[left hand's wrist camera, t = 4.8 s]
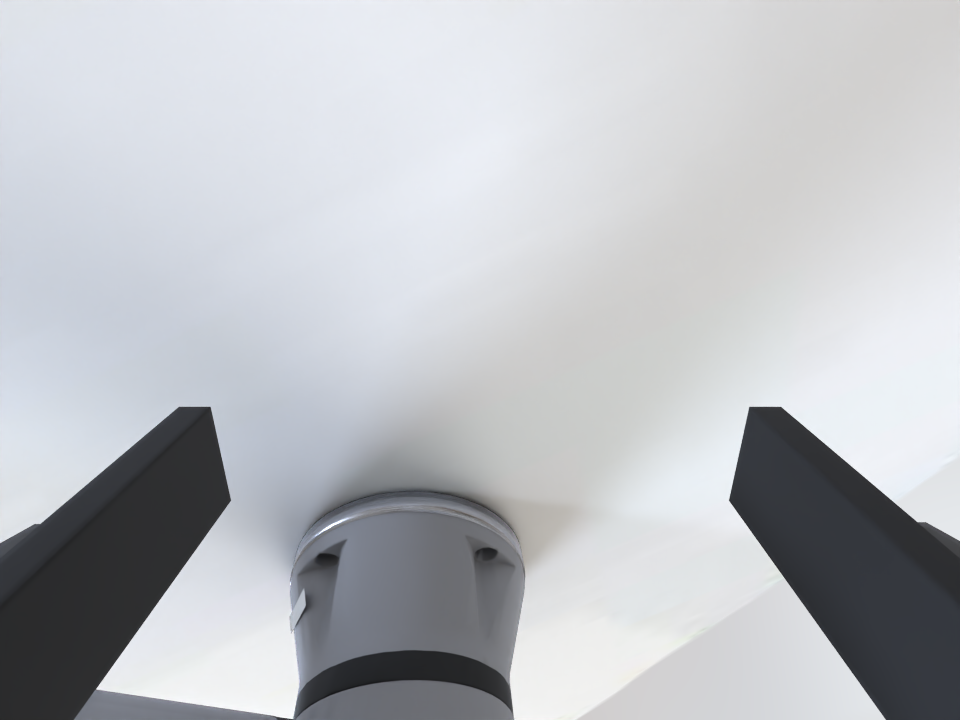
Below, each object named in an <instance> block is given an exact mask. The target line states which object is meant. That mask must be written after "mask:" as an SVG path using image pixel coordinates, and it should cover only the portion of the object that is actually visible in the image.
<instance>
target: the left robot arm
mask: <svg viewBox="0 0 960 720" xmlns="http://www.w3.org/2000/svg"><path fill="white" fill-rule="evenodd" d="M230 501H231V499H230V494H229V490H228V485H227V480H226V476H225V471H224V467H223V462H222V457H221V453H220V448H219V444H218V439H217V434H216V430H215V425H214V421H213V416H212V412H211V407H178V408H177V409H176V410H175V411H174V412H173V413H171V414H170V415H169V416H168V417H167V418H165V419H164V420H163V421H162V422H161V423H160V424H158V425H157V426H156V427H155V428H154V429H152V430H151V431H150V432H149V433H148V434H146V435H145V436H144V437H143V438H142V439H141V440H139V441H138V442H137V443H136V444H135V445H133V446H132V447H131V448H130V449H129V450H128V451H126V452H125V453H124V454H123V455H122V456H120V457H119V458H118V459H117V460H116V461H115V462H113V463H112V464H111V465H110V466H109V467H107V468H106V469H105V470H104V471H103V472H102V473H100V474H99V475H98V476H97V477H96V478H94V479H93V480H92V481H91V482H90V483H89V484H87V485H86V486H85V487H84V488H83V489H81V490H80V491H79V492H78V493H77V494H76V495H74V496H73V497H72V498H71V499H70V500H68V501H67V502H66V503H65V504H64V505H63V506H61V507H60V508H59V509H58V510H57V511H55V512H54V513H53V514H52V515H51V516H50V517H48V518H47V519H46V520H45V521H44V522H42V523H41V524H34V525H32V526H31V527H29V528H27V529H25V530H23V531H22V532H20V533H18V534H16V535H14V536H13V537H11V538H9V539H7V540H5V541H4V542H2V543H0V720H514V717H513V708H512V699H511V690H510V669H511V664H512V658H513V652H514V647H515V641H516V635H517V629H518V624H519V618H520V612H521V607H522V601H523V595H524V586H525V570H524V564H523V558H522V552H521V547H520V544H519V541H518V539H517V537H516V535H515V533H514V532H513V530H512V529H511V528H510V527H509V525H508V524H507V523H506V522H505V521H504V520H502V519H501V518H500V517H499V516H497V515H496V514H495V513H493V512H492V511H490V510H488V509H487V508H485V507H483V506H481V505H479V504H476V503H474V502H471V501H469V500H466V499H463V498H459V497H456V496H451V495H447V494H441V493H434V492H422V491H404V492H392V493H384V494H379V495H374V496H369V497H366V498H362V499H358V500H356V501H353V502H350V503H348V504H345V505H343V506H341V507H339V508H337V509H335V510H333V511H331V512H330V513H328V514H327V515H325V516H324V517H322V518H321V519H320V520H318V521H317V522H316V523H315V524H314V525H313V526H312V527H311V528H310V529H309V530H308V531H307V533H306V534H305V535H304V537H303V538H302V540H301V542H300V544H299V547H298V550H297V553H296V557H295V561H294V565H293V569H292V573H291V579H290V587H291V588H290V597H291V607H292V613H291V615H290V626H291V633H292V631H293V629H294V635H295V644H296V653H297V662H298V672H299V691H298V697H297V702H296V707H295V712H294V718H293V719H287V718H280V717H275V716H271V715H264V714H257V713H250V712H244V711H237V710H230V709H223V708H217V707H210V706H203V705H196V704H189V703H183V702H176V701H169V700H162V699H156V698H149V697H142V696H135V695H128V694H122V693H115V692H108V691H101V690H96V688H97V687H98V685H99V684H100V683H101V681H102V680H103V678H104V677H105V676H106V674H107V673H108V671H109V670H110V669H111V667H112V666H113V664H114V663H115V662H116V660H117V659H118V658H119V656H120V655H121V653H122V652H123V651H124V649H125V648H126V646H127V645H128V644H129V642H130V641H131V639H132V638H133V637H134V635H135V634H136V632H137V631H138V630H139V628H140V627H141V625H142V624H143V623H144V621H145V620H146V618H147V617H148V616H149V614H150V613H151V611H152V610H153V609H154V607H155V606H156V604H157V603H158V602H159V600H160V599H161V597H162V596H163V595H164V593H165V592H166V590H167V589H168V588H169V586H170V585H171V583H172V582H173V581H174V579H175V578H176V576H177V575H178V574H179V572H180V571H181V570H182V568H183V567H184V565H185V564H186V563H187V561H188V560H189V558H190V557H191V556H192V554H193V553H194V551H195V550H196V549H197V547H198V546H199V544H200V543H201V542H202V540H203V539H204V537H205V536H206V535H207V533H208V532H209V530H210V529H211V528H212V526H213V525H214V523H215V522H216V521H217V519H218V518H219V516H220V515H221V514H222V512H223V511H224V509H225V508H226V507H227V505H228V504H229V502H230ZM729 501H730V502H731V504H732V505H733V507H734V508H735V509H736V511H737V512H738V514H739V515H740V516H741V518H742V519H743V521H744V522H745V523H746V525H747V526H748V528H749V529H750V530H751V532H752V533H753V535H754V536H755V537H756V539H757V540H758V542H759V543H760V544H761V546H762V547H763V549H764V550H765V551H766V553H767V554H768V556H769V557H770V558H771V560H772V561H773V563H774V564H775V565H776V567H777V568H778V570H779V571H780V572H781V574H782V575H783V576H784V578H785V579H786V581H787V582H788V583H789V585H790V586H791V588H792V589H793V590H794V592H795V593H796V595H797V596H798V597H799V599H800V600H801V602H802V603H803V604H804V606H805V607H806V609H807V610H808V611H809V613H810V614H811V616H812V617H813V618H814V620H815V621H816V623H817V624H818V625H819V627H820V628H821V630H822V631H823V632H824V634H825V635H826V637H827V638H828V639H829V641H830V642H831V644H832V645H833V646H834V648H835V649H836V651H837V652H838V653H839V655H840V656H841V658H842V659H843V660H844V662H845V663H846V664H847V666H848V667H849V669H850V670H851V671H852V673H853V674H854V676H855V677H856V678H857V680H858V681H859V682H860V684H861V685H862V687H863V688H864V690H865V691H866V692H867V694H868V695H869V697H870V698H871V699H872V701H873V702H874V703H875V705H876V706H877V708H878V709H879V711H880V712H881V713H882V715H883V716H884V718H885V719H886V720H960V541H959V540H957V539H955V538H953V537H951V536H950V535H948V534H946V533H944V532H942V531H941V530H939V529H937V528H935V527H933V526H931V525H930V524H928V523H926V522H916V521H915V520H914V519H913V518H912V517H910V516H909V515H908V514H907V513H906V512H905V511H903V510H902V509H901V508H900V507H899V506H897V505H896V504H895V503H894V502H893V501H892V500H890V499H889V498H888V497H887V496H886V495H884V494H883V493H882V492H881V491H880V490H879V489H877V488H876V487H875V486H874V485H873V484H871V483H870V482H869V481H868V480H867V479H866V478H864V477H863V476H862V475H861V474H860V473H858V472H857V471H856V470H855V469H854V468H853V467H851V466H850V465H849V464H848V463H847V462H845V461H844V460H843V459H842V458H841V457H840V456H838V455H837V454H836V453H835V452H834V451H832V450H831V449H830V448H829V447H828V446H827V445H825V444H824V443H823V442H822V441H821V440H819V439H818V438H817V437H816V436H815V435H814V434H812V433H811V432H810V431H809V430H808V429H806V428H805V427H804V426H803V425H802V424H800V423H799V422H798V421H797V420H796V419H795V418H793V417H792V416H791V415H790V414H789V413H787V412H786V411H785V410H784V409H783V408H782V407H749V412H748V416H747V421H746V425H745V430H744V434H743V439H742V444H741V448H740V453H739V457H738V462H737V467H736V471H735V476H734V480H733V485H732V490H731V494H730V499H729Z"/></svg>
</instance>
